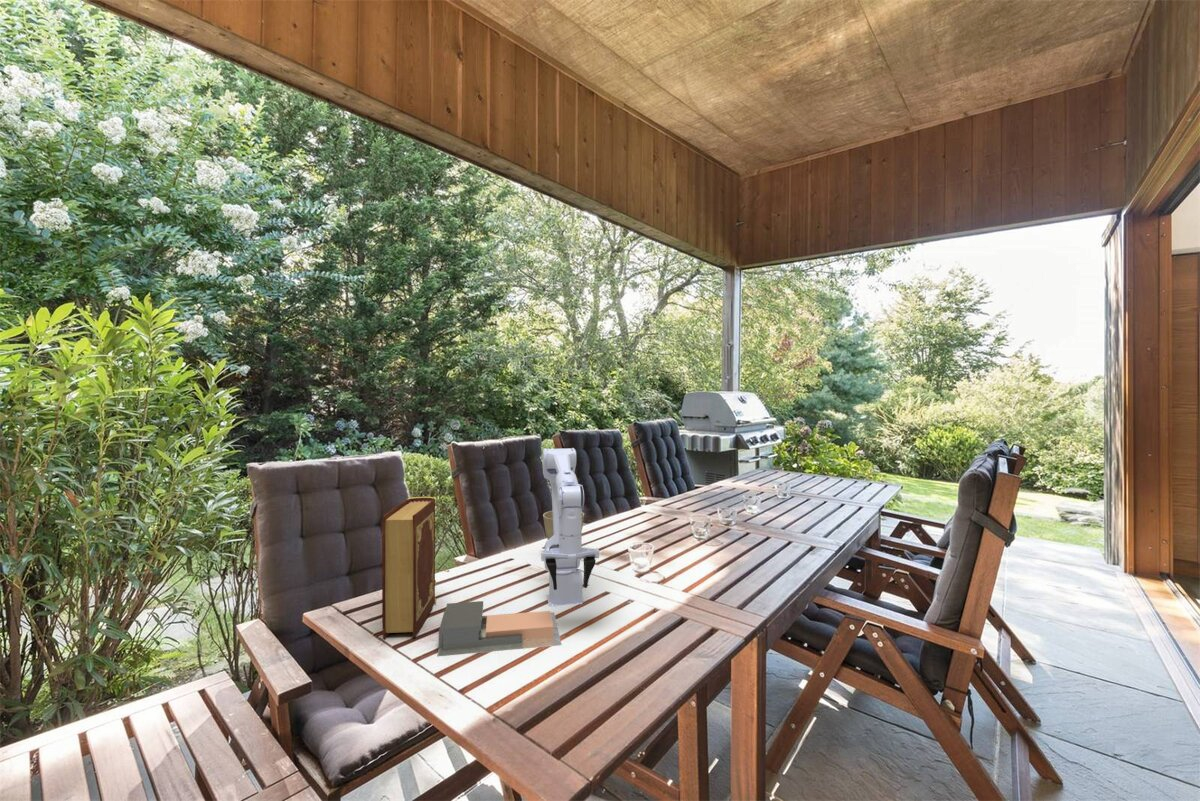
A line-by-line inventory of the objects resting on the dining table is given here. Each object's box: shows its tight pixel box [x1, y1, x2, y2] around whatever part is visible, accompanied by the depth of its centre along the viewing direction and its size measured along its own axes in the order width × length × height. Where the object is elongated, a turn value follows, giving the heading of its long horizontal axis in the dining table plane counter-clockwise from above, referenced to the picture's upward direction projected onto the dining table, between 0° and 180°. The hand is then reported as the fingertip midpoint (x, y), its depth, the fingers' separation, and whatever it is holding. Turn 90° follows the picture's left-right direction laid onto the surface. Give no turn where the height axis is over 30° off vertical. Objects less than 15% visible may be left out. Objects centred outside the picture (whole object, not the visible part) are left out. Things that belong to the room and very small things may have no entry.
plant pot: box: [542, 510, 585, 548], centre depth 181 cm, size 15×15×16 cm
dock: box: [436, 600, 562, 657], centre depth 123 cm, size 28×18×6 cm, turn 101°
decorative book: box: [381, 496, 437, 641], centre depth 131 cm, size 22×8×30 cm, turn 5°
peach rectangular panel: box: [486, 610, 553, 639], centre depth 124 cm, size 16×9×2 cm, turn 101°
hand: (570, 587), depth 126 cm, fingers open, 7 cm apart
